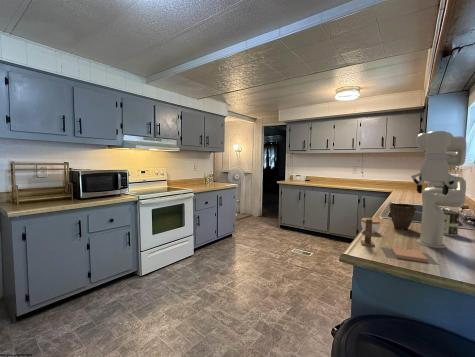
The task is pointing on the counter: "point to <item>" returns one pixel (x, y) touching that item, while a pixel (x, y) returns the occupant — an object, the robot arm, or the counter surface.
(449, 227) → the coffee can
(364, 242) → the wooden pedestal stand
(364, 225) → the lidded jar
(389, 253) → the mat
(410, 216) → the plant pot
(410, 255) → the tile
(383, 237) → the counter surface
